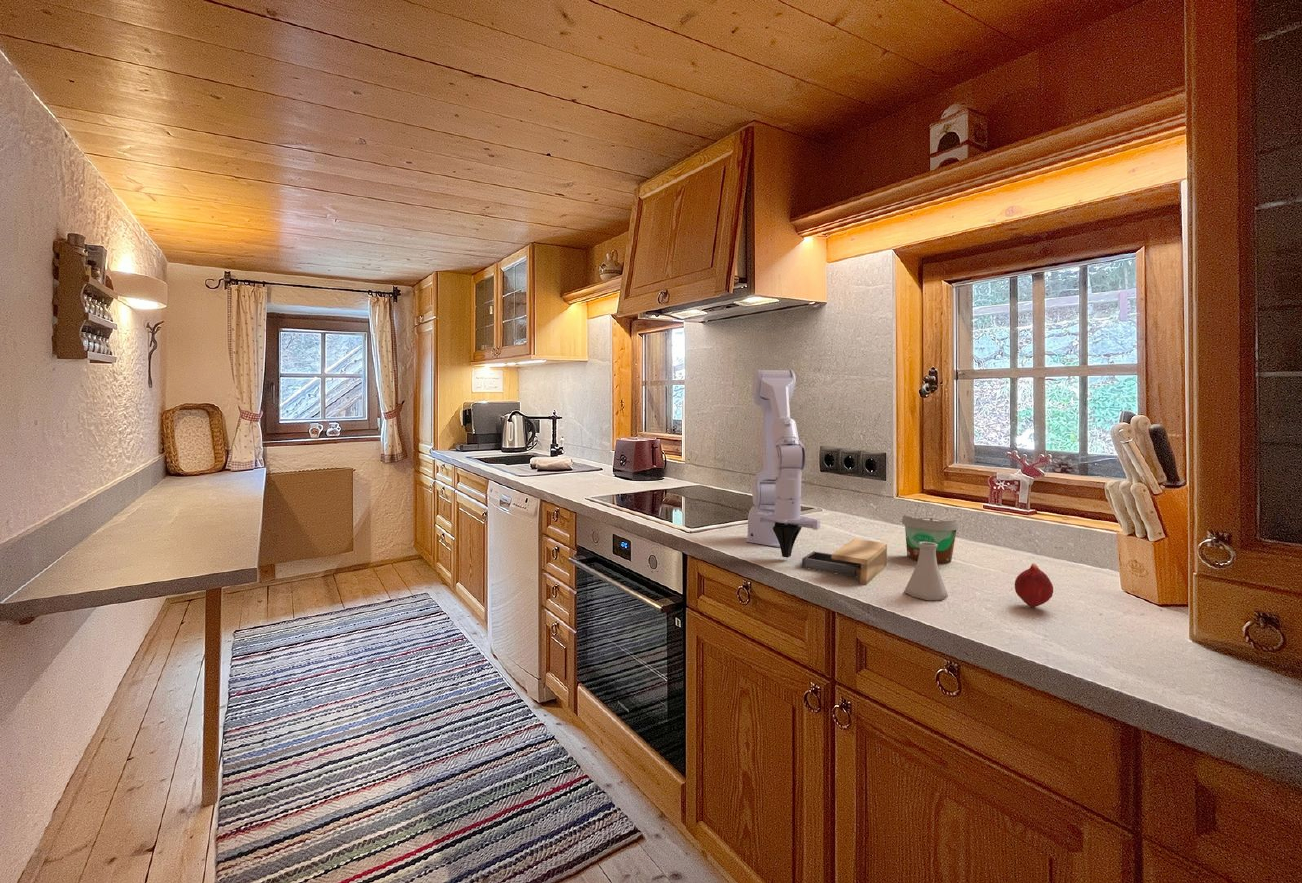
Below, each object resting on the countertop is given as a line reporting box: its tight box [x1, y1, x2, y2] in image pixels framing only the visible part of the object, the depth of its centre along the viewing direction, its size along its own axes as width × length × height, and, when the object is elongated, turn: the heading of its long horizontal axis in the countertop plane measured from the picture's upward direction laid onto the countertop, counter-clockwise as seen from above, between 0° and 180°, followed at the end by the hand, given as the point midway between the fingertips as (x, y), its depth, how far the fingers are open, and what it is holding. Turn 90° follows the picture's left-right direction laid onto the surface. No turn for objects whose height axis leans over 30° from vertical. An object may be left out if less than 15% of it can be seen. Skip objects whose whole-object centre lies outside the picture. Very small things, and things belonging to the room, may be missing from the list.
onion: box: [1014, 562, 1054, 608], centre depth 107 cm, size 6×6×8 cm
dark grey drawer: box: [801, 551, 861, 578], centre depth 130 cm, size 12×7×2 cm, turn 55°
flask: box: [903, 542, 949, 601], centre depth 113 cm, size 7×7×10 cm
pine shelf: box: [831, 538, 888, 585], centre depth 128 cm, size 7×16×5 cm, turn 145°
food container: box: [901, 513, 961, 565], centre depth 136 cm, size 12×6×10 cm, turn 62°
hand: (786, 556), depth 136 cm, fingers closed
